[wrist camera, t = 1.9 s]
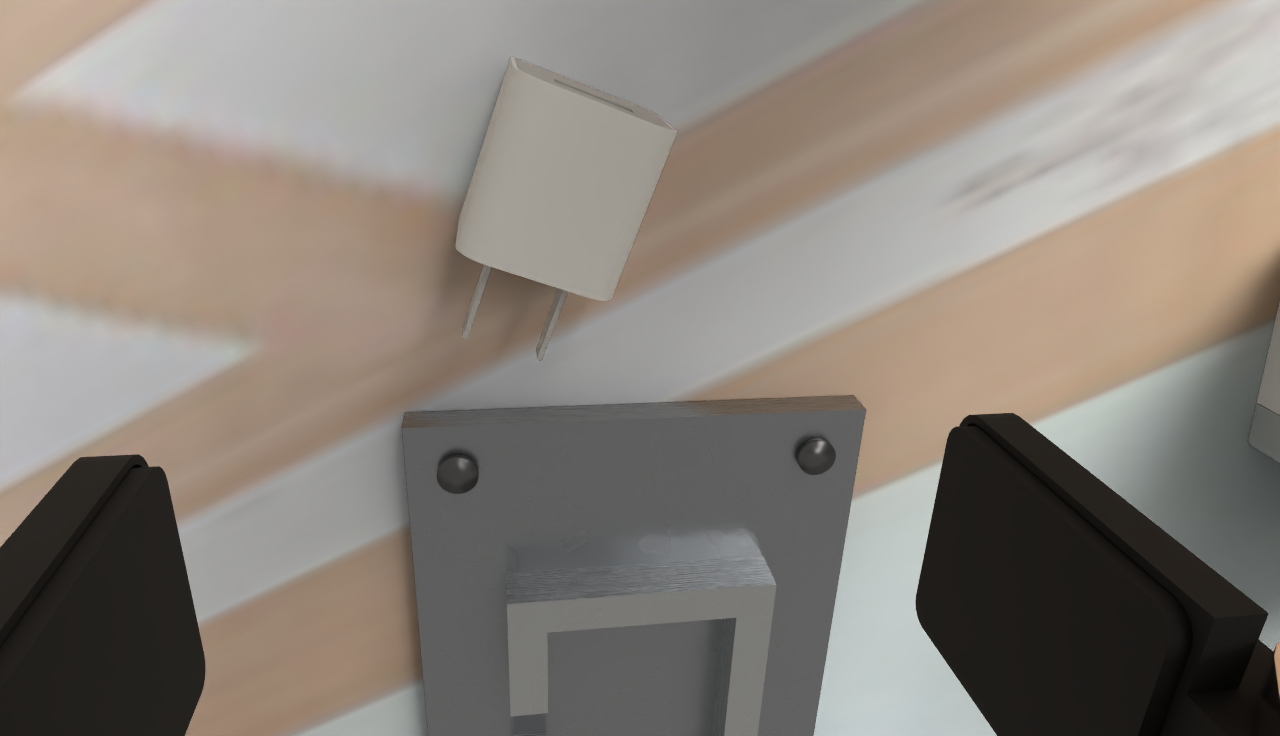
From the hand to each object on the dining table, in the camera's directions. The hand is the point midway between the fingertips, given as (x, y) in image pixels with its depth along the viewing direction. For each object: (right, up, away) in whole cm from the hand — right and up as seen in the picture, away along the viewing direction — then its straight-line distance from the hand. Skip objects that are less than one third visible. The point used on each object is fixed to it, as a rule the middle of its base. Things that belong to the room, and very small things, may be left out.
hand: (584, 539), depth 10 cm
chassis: (0, -7, +20) cm, 21 cm away
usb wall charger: (-2, +7, +13) cm, 15 cm away
